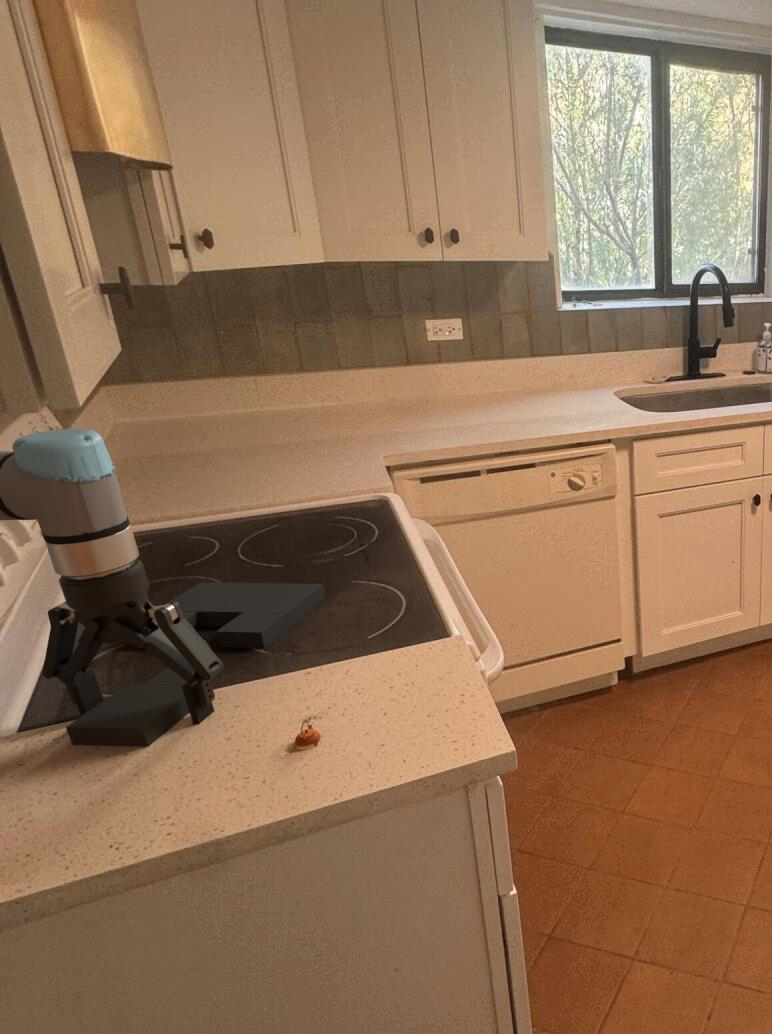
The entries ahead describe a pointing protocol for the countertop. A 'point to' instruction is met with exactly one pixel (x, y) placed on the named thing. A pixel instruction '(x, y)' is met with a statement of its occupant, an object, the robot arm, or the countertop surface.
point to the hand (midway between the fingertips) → (152, 725)
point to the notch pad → (247, 609)
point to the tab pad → (133, 714)
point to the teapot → (307, 738)
